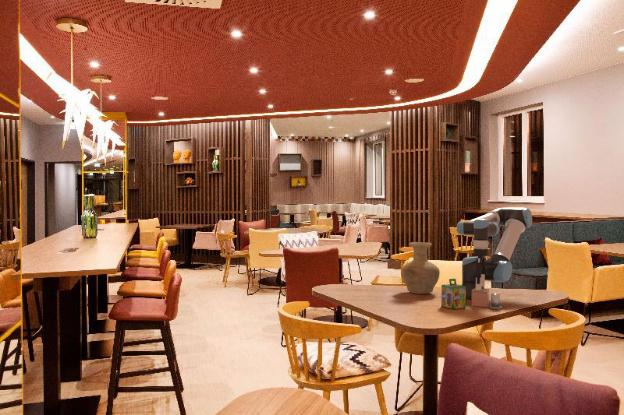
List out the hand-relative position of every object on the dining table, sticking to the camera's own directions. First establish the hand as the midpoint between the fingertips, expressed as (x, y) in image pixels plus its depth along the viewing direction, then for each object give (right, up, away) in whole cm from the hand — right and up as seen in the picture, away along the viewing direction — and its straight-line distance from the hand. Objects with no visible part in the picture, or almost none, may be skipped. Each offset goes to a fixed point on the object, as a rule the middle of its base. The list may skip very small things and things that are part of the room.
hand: (480, 288), depth 281 cm
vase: (-25, -9, +34) cm, 43 cm away
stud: (+5, -9, -7) cm, 13 cm away
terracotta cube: (0, -9, 0) cm, 9 cm away
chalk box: (-16, -9, -5) cm, 19 cm away
